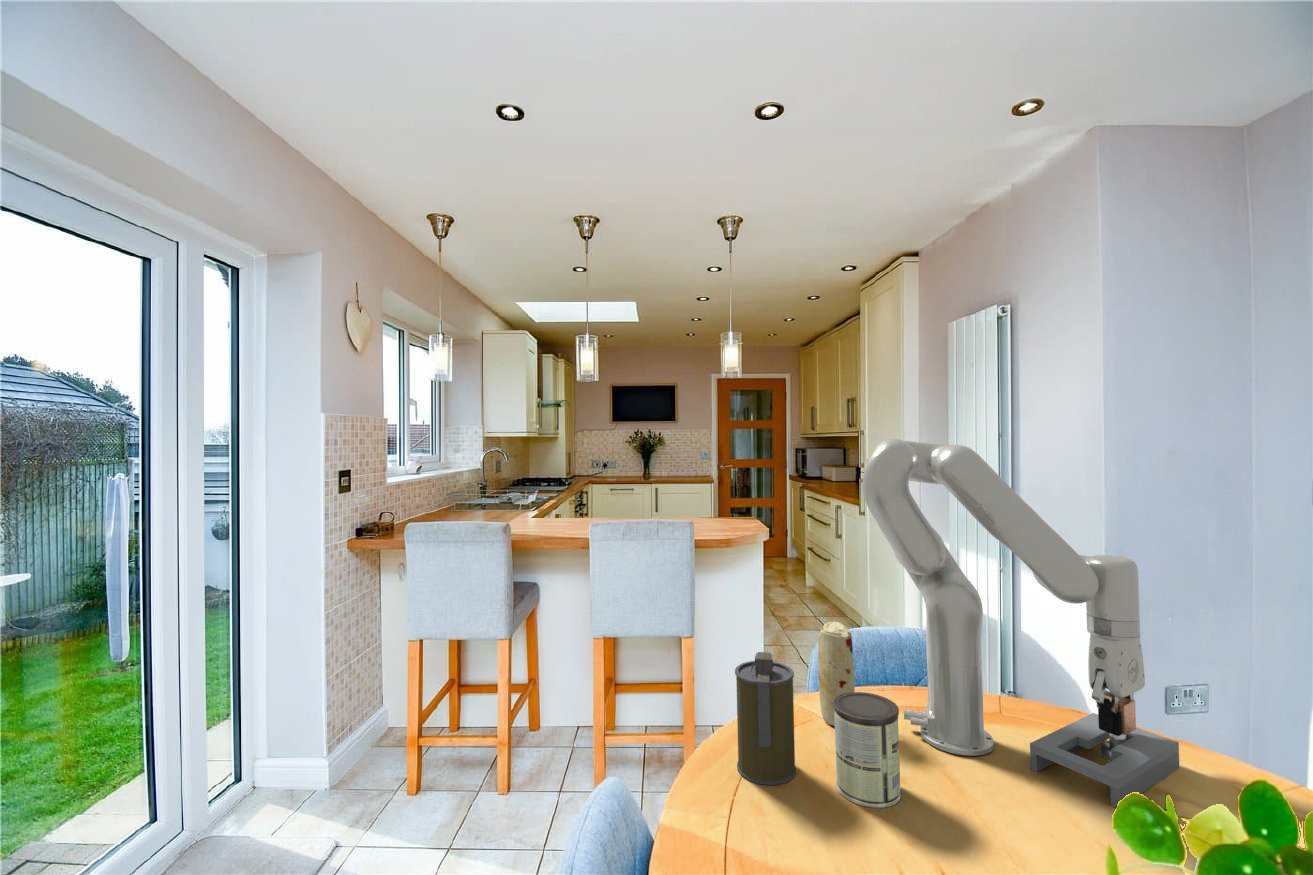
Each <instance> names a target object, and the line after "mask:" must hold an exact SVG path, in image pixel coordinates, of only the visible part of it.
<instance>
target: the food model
mask: <svg viewBox="0 0 1313 875" xmlns="http://www.w3.org/2000/svg"><path fill="white" fill-rule="evenodd" d="M817 637H818V638H817V646H818V650H817V653H818V658H817V659H818V660H817V661H818V684H819V685H818V687H819V688H818V689H819V702H820V712H821V716H822V719H823V720H824V722H825V723H826V724H828V725H829V726H833V727H835V715H834V706H833V701H834V699H835V698H836V697H837V696H839V695H841V694H845V693H851V692H855V668H854V667H855V666H854V652H853V651H854V650H853V638H852V632H851V631H850V629H849V628H848V627H847V626H846V625H844V624H842V623H841V622H838V621H829V622H826V623H824V624H823V628H822V629H820V631H819V633H818V636H817Z"/></svg>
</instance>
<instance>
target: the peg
mask: <svg viewBox="0 0 1313 875" xmlns="http://www.w3.org/2000/svg"><path fill="white" fill-rule="evenodd" d="M1104 696H1105V697H1106V698H1107V699H1109V700H1110V701H1111V703H1112V697H1109V696H1106V695H1104ZM1118 712H1119V713H1121V735H1120V736H1116V735H1114V734H1111V733H1109V739H1108V742H1101V743H1100V757H1102V758H1103V759H1104V760H1106V761H1107V762H1111V761H1113V760H1114V759H1112V758H1111V749H1113V748H1114V747H1116V746H1118V745H1120V744H1122V743H1123V742H1125V741H1126V734H1128V733H1130V732H1132V731H1133V730H1135V729H1136V728H1137V721H1136V720H1137V717H1136V700H1135V699H1134V700H1131V699H1128V698H1125V697H1124V698H1119V699H1118Z"/></svg>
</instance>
